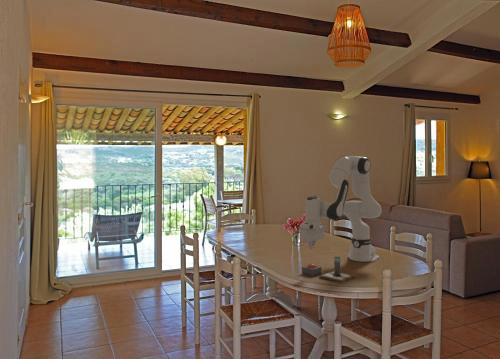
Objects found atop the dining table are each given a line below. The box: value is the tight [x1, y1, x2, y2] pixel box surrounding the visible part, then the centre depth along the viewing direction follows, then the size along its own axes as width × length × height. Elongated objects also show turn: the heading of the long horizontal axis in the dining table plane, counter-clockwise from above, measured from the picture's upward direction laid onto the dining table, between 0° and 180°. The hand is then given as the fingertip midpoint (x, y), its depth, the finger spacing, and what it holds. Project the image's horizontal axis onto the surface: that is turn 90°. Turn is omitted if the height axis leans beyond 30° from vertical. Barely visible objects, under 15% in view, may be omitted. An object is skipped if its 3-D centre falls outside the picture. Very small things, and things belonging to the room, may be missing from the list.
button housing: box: [301, 265, 322, 277], centre depth 248 cm, size 8×8×4 cm
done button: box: [308, 263, 316, 268], centre depth 248 cm, size 4×4×3 cm
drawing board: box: [318, 270, 355, 284], centre depth 241 cm, size 14×14×2 cm
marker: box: [333, 256, 342, 276], centre depth 240 cm, size 3×3×10 cm
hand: (311, 248), depth 247 cm, fingers closed
